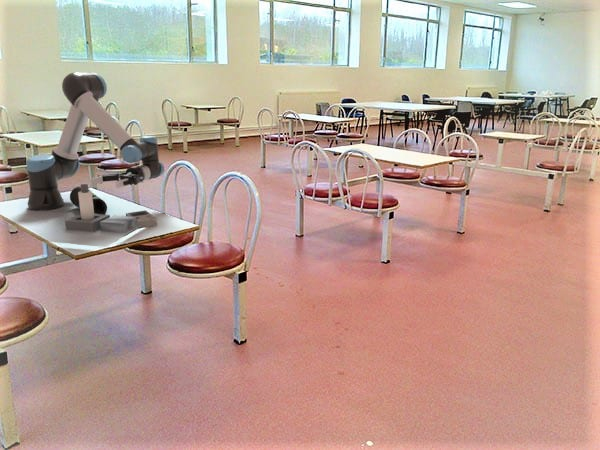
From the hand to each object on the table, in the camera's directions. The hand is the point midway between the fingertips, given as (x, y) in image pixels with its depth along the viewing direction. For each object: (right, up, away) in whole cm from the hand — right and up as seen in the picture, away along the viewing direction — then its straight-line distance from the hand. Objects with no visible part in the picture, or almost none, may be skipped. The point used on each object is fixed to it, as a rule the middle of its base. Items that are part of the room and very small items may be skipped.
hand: (103, 183), depth 212 cm
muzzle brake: (-14, -12, +19) cm, 26 cm away
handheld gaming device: (+14, -17, +7) cm, 23 cm away
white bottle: (-4, -17, -4) cm, 18 cm away
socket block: (-4, -19, -4) cm, 20 cm away
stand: (+8, -20, -5) cm, 22 cm away
